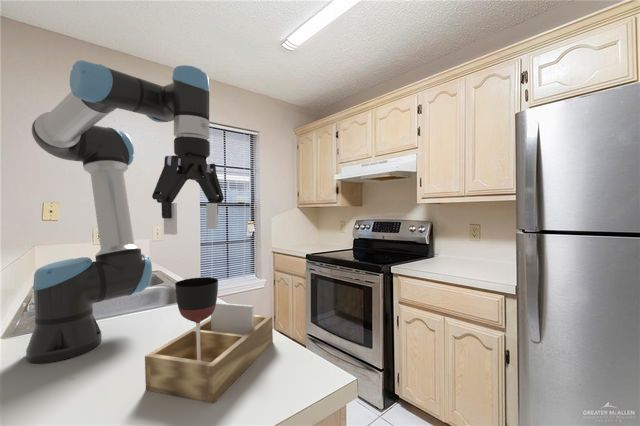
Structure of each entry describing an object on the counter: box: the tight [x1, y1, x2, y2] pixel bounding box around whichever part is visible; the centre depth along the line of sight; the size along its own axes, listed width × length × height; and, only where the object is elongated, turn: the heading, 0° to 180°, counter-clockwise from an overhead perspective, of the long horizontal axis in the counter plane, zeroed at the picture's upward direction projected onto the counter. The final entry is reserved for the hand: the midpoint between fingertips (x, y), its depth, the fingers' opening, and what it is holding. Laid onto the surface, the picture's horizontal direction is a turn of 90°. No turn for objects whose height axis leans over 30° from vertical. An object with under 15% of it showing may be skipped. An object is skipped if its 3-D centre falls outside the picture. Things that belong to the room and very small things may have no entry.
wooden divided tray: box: [144, 314, 274, 404], centre depth 70 cm, size 16×26×7 cm, turn 164°
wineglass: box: [174, 276, 219, 361], centre depth 63 cm, size 8×9×20 cm
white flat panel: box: [210, 302, 255, 335], centre depth 76 cm, size 12×1×11 cm, turn 74°
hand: (193, 231), depth 68 cm, fingers open, 13 cm apart
